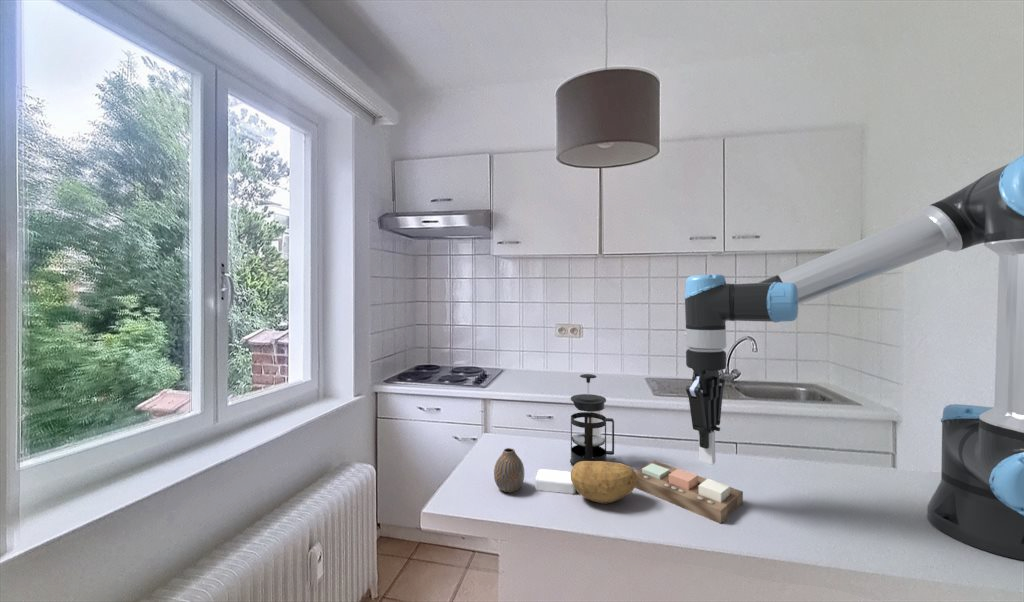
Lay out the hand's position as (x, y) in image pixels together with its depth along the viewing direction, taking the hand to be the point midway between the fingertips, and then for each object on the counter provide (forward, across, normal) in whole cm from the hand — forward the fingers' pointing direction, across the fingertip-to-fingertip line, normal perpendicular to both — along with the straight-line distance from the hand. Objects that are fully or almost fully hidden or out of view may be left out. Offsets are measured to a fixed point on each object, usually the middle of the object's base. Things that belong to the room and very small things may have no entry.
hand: (707, 461), depth 83 cm
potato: (+9, +15, -15) cm, 23 cm away
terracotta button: (+7, 0, -5) cm, 9 cm away
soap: (+9, +19, -26) cm, 33 cm away
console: (+9, 0, -5) cm, 10 cm away
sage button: (+8, 0, -12) cm, 14 cm away
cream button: (+8, 0, +1) cm, 8 cm away
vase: (+8, +28, -32) cm, 43 cm away
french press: (+8, +4, -28) cm, 30 cm away
